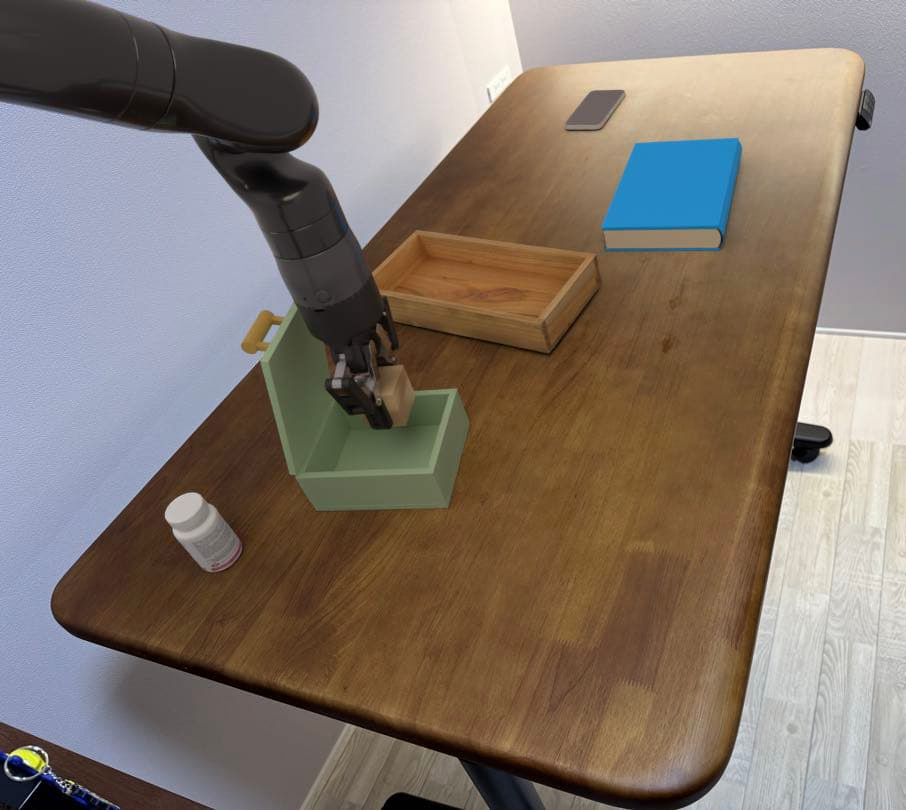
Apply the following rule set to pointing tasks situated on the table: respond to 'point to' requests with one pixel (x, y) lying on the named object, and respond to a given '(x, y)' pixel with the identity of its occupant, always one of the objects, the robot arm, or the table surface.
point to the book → (674, 196)
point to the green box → (387, 457)
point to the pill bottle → (203, 532)
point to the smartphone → (595, 109)
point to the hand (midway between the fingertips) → (389, 409)
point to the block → (394, 394)
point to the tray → (487, 288)
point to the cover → (292, 379)
